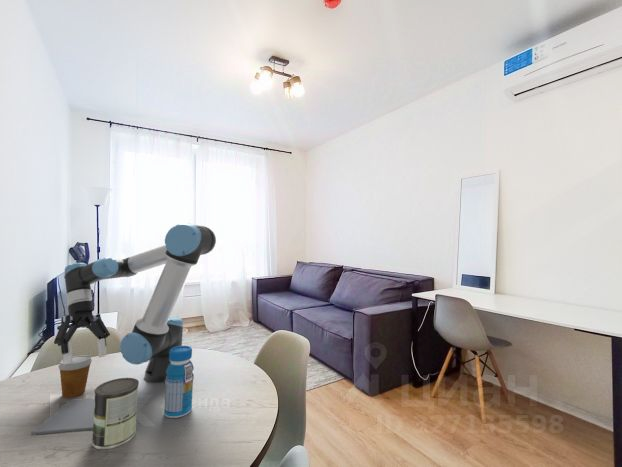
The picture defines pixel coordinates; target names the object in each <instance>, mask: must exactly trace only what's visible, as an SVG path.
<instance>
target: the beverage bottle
mask: <svg viewBox="0 0 622 467" xmlns="http://www.w3.org/2000/svg"><path fill="white" fill-rule="evenodd" d="M192 357H193V348H192V346H189V345H182V346H177V347H174V348H172V349H170V352H169V360H170V361H171V363H170V364H169V366H168V367H167V370H166V374H167V377H166V379H165V381H164V383H165V391H164V412H163V413H164V415H165V417H167V418H170V419H177V418H178V419H179V418H181V417H184V416H186V415H188V414H189V413H191V411H192V410H193V388H194V387H193V385H194V377H195V376H194V373H193V371H194V367H195V366H194V364H193V362H192V360H191V359H192Z"/></svg>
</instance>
